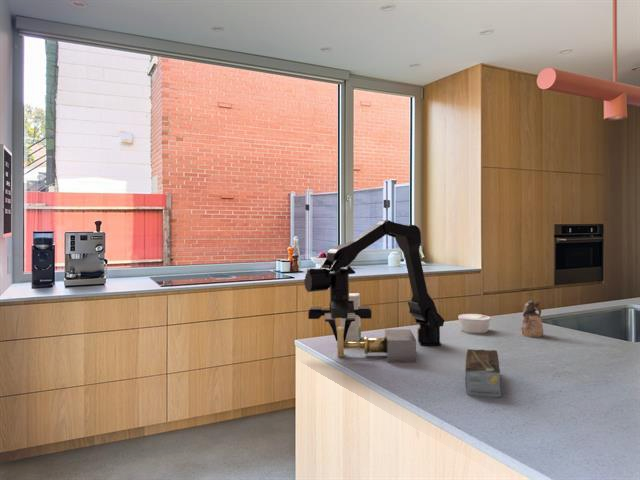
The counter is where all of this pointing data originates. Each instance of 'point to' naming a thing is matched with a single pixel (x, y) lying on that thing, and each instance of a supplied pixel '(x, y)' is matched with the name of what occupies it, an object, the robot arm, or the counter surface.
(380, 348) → the brass door handle
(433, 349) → the counter surface
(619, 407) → the counter surface
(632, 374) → the counter surface
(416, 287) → the robot arm
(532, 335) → the figurine
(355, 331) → the skincare box
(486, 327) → the ramekin
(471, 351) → the beverage carton
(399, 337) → the housing
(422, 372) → the counter surface
